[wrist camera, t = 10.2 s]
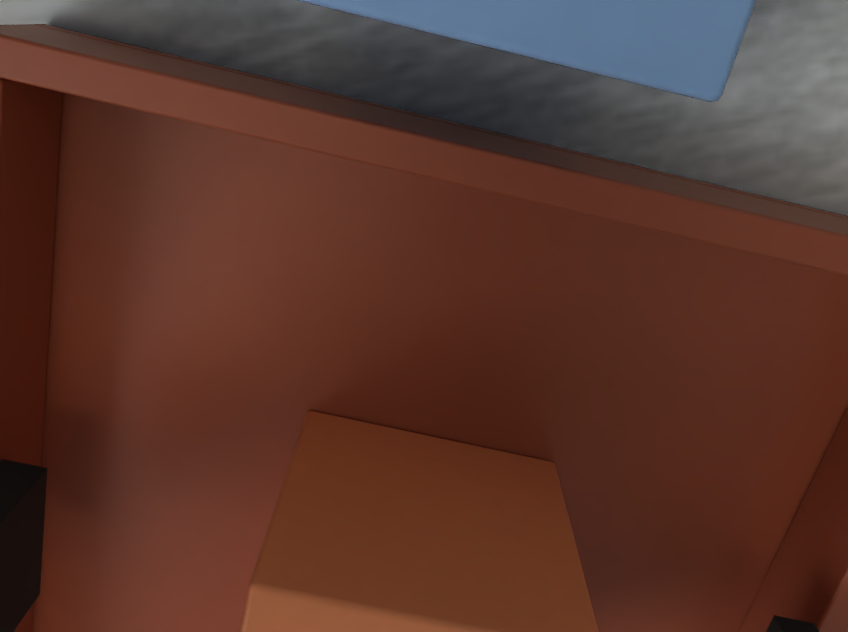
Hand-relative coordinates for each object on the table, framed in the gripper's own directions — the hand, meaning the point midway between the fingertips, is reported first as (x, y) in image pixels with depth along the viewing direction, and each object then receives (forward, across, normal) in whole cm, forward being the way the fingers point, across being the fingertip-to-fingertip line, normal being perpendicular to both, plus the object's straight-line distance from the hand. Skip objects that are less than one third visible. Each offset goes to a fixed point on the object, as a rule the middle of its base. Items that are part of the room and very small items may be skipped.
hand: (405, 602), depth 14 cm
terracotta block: (+2, 0, 0) cm, 2 cm away
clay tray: (+3, 0, 0) cm, 3 cm away
